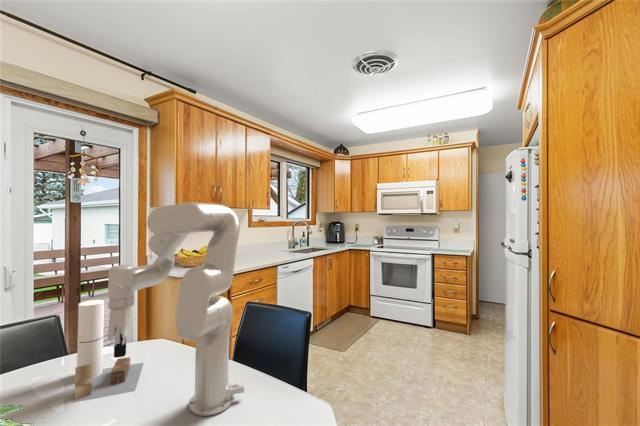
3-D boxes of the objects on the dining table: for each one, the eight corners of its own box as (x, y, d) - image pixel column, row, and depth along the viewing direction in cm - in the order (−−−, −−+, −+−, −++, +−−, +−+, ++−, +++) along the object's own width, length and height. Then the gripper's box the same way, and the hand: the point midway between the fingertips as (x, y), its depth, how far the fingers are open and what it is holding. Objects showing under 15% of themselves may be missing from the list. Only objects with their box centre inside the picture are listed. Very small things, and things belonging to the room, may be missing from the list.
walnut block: (124, 382, 101) (130, 368, 110) (124, 370, 101) (130, 357, 110) (110, 384, 99) (117, 370, 108) (110, 372, 99) (117, 359, 108)
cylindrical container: (88, 381, 101) (90, 306, 101) (71, 378, 102) (73, 304, 103) (107, 370, 108) (109, 300, 108) (91, 368, 109) (92, 299, 110)
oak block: (90, 388, 97) (91, 363, 97) (91, 394, 94) (91, 368, 94) (74, 393, 94) (75, 367, 94) (74, 399, 91) (75, 372, 91)
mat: (143, 363, 114) (143, 362, 114) (134, 391, 96) (135, 390, 96) (92, 371, 108) (92, 370, 108) (72, 403, 90) (72, 402, 90)
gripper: (113, 297, 108) (112, 348, 108) (102, 309, 95) (100, 368, 94) (137, 295, 111) (136, 345, 111) (130, 307, 98) (128, 364, 97)
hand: (120, 355), depth 103 cm, fingers closed
